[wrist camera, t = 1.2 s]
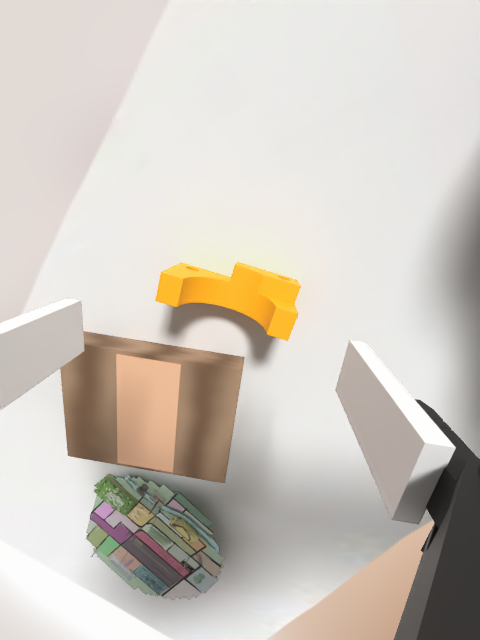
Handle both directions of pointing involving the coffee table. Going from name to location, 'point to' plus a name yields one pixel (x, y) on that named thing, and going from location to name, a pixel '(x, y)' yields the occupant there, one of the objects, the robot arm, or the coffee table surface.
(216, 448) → the board
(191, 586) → the city model
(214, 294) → the pipe clamp
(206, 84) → the coffee table surface
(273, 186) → the coffee table surface
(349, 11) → the coffee table surface
